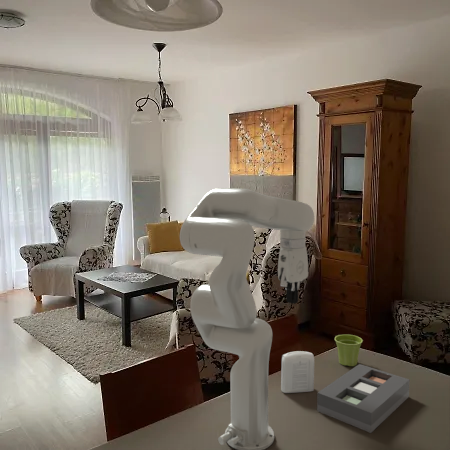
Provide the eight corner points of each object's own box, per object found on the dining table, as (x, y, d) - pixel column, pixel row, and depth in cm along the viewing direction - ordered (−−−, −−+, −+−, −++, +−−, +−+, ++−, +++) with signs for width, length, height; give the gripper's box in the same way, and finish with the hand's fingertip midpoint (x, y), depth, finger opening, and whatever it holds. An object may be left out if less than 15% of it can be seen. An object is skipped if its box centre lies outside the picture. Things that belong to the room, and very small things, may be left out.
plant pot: (328, 360, 163) (329, 336, 162) (349, 355, 167) (350, 332, 166) (345, 370, 154) (346, 346, 153) (367, 365, 158) (368, 341, 157)
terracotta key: (381, 393, 135) (381, 388, 135) (363, 387, 138) (364, 382, 138) (389, 386, 139) (389, 381, 138) (372, 380, 142) (372, 376, 142)
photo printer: (311, 385, 144) (311, 348, 143) (315, 392, 140) (316, 353, 139) (279, 388, 143) (279, 350, 141) (283, 394, 139) (283, 355, 137)
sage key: (355, 415, 123) (355, 409, 123) (337, 407, 127) (337, 402, 127) (364, 407, 127) (365, 401, 127) (346, 400, 131) (347, 395, 131)
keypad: (370, 433, 119) (371, 413, 118) (317, 411, 129) (317, 392, 129) (408, 396, 137) (409, 379, 136) (358, 380, 148) (359, 363, 147)
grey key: (369, 400, 129) (369, 395, 129) (351, 393, 133) (351, 388, 132) (377, 392, 133) (378, 387, 133) (360, 386, 136) (360, 382, 136)
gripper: (288, 248, 130) (288, 310, 133) (316, 241, 141) (315, 299, 144) (267, 245, 136) (267, 305, 138) (296, 239, 146) (295, 294, 149)
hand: (292, 302), depth 141 cm, fingers closed
